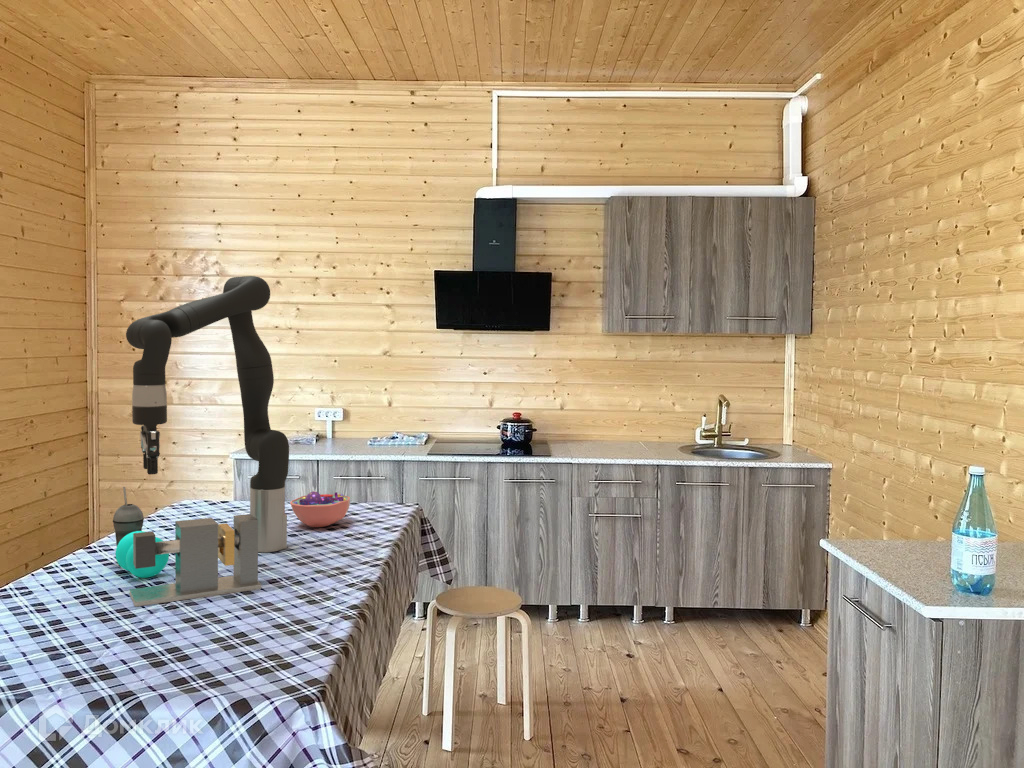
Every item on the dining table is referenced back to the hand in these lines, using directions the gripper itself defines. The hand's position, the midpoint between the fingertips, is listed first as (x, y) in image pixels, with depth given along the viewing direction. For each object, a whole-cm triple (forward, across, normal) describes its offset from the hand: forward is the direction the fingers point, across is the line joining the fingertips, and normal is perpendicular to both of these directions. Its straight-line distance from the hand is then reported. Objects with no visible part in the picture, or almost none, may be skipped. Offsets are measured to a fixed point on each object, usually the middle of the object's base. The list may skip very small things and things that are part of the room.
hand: (150, 471), depth 191 cm
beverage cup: (+26, +15, +4) cm, 31 cm away
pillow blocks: (+26, -14, -8) cm, 31 cm away
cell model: (+27, +37, -53) cm, 70 cm away
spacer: (+20, -14, -14) cm, 28 cm away
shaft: (+19, -14, -8) cm, 25 cm away
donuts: (+26, +5, +2) cm, 27 cm away
